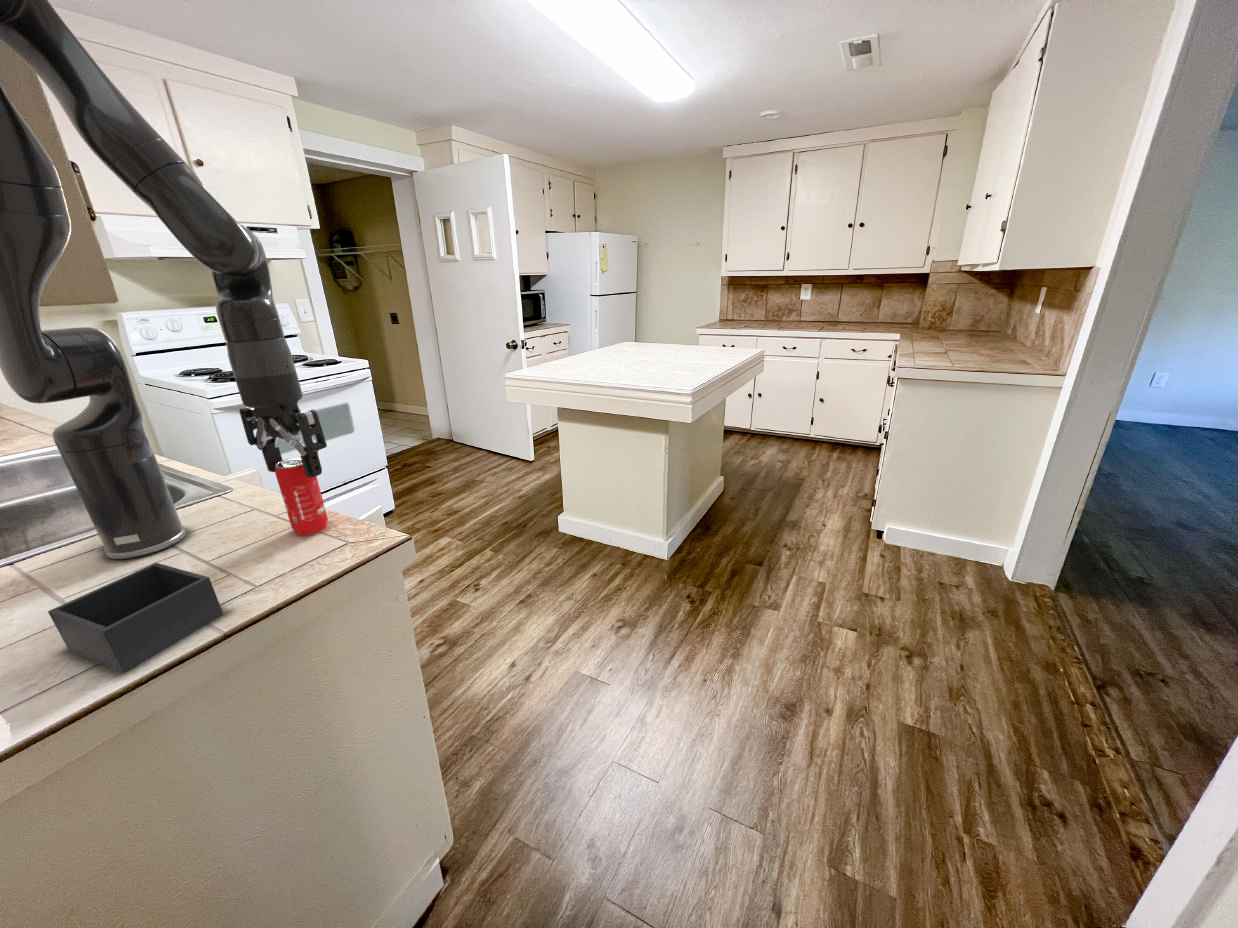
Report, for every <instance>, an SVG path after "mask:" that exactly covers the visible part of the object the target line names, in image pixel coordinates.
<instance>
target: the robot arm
mask: <svg viewBox="0 0 1238 928" xmlns="http://www.w3.org/2000/svg"><path fill="white" fill-rule="evenodd" d="M0 42H2V43H3V45H5V46H6V47H7V48H8V49H10V50H11V52H13V53H14V54H15V55H17V56H18V57H19V58H20V59H21V61H23V62H24V63H25V64H26V65H27V67H29V68H30V69H31V70H32V71H33V73H35V75H37V76H38V78H39V79H40V80H41V81H42V82H43V84H44V85H45V86H46V87H47V89H48V90H49V91H50V92H51V94H52V95H53V97H54V98H55V99H56V101H58V104H59V105H60V107H61V109H62V110H63V112H64V114H65V115H66V116H67V118H68V120H69V121H70V123H71V124H72V126H73V128H74V129H75V130H76V132H77V134H78V135H79V136H80V138H81V139H82V140H83V142H84V143H85V144H86V145H87V147H88V148H89V149H90V150H91V151H92V153H93V154H94V155H95V156H96V157H97V158H98V159H99V161H100V162H102V163H103V164H104V165H105V166H106V168H108V169H109V170H110V171H111V172H112V173H113V175H115V176H116V177H117V178H118V179H119V180H120V182H122V183H123V184H124V185H125V186H126V187H127V188H128V189H129V190H130V191H131V192H132V193H133V194H134V195H135V196H136V197H137V198H138V199H139V200H140V201H142V202H143V203H144V204H145V205H146V206H147V207H149V208H150V210H152V211H153V212H154V214H155V215H156V216H157V217H158V219H159V220H160V221H161V222H162V223H163V225H164V226H165V227H166V229H168V231H169V232H170V233H171V234H172V235H173V237H174V238H175V239H176V240H177V241H178V243H180V244H181V245H182V247H183V248H184V249H185V250H186V251H187V252H188V253H189V254H190V255H191V256H192V257H193V258H194V259H195V260H197V262H199V264H201V265H202V266H204V268H207V269H208V270H210V272H211V276H212V280H213V283H214V286H215V290H216V294H217V300H216V303H215V312H216V316H217V320H218V322H219V323H218V324H219V326H220V329H221V332H222V335H223V338H224V341H225V345H226V351H227V358H228V362H229V365H230V368H231V371H232V374H233V377H234V380H235V383H236V386H237V390H238V393H239V396H240V399H241V402H242V404H243V405H244V406H245V407H242V408H240V409H239V415H240V419H241V422H242V426H243V429H244V432H245V433H244V434H245V437H246V439H247V442H248V444H249V445H250V446H256V448H257V449H258V450H259V451H261V453H262V456H263V460H264V462H265V465H266V468H267V471H268V472H271V473H275V469H276V467H275V465H276V464H277V463H278V462H280V461H283V457H282V454H281V450H280V447H279V446H277V445H278V442H279V439H282V440H284V441H285V442H286V443H287V444H288V445H290V446H293V447H294V448H295V450H296V451H297V452H298V453H299V454H300V456H299V457H301V460H302V464H303V467H304V471H305V474H306V476H307V477H309V478H313V477H315V476H320V475H322V473H323V469H322V468H323V467H322V464H321V461H320V457H319V451H321V450H323V449H325V448H327V446H328V444H327V441H326V437H325V435H324V434H325V433H324V431H323V428H322V424H321V422H320V418H319V416H318V412H317V411H316V410H315V409H310V410H307V411H302V410H301V409H300V407H299V404H298V403H299V401H300V400H301V399H302V398H303V396H304V395H303V391H302V388H301V384H300V380H299V376H298V372H297V369H296V366H295V361H294V358H293V354H292V351H291V349H290V346H289V345H288V342H287V339H286V337H285V332H284V330H283V326H282V323H281V319H280V314H279V312H278V310H277V309H278V308H277V307H276V303H275V300H274V296H273V287H272V281H271V273H270V269H269V264H268V260H267V255H266V252H265V249H264V247H263V245H262V243H261V241H260V239H259V238H258V237H257V235H256V234H255V233H253V232H252V231H251V230H250V229H249V228H247V227H245V226H244V225H242V224H241V223H240V222H238V221H237V220H236V219H235V218H234V217H233V215H231V214H230V213H229V212H228V211H227V210H226V209H225V208H224V207H223V206H222V204H220V203H219V202H218V201H217V199H215V198H214V196H213V195H212V194H211V193H210V192H209V191H207V189H206V188H205V187H204V183H203V182H202V181H201V178H200V177H199V176H198V175H197V174H196V172H195V171H194V170H193V169H192V168H191V166H189V164H187V163H186V161H185V160H184V159H183V158H182V157H181V156H180V155H179V154H178V153H177V152H176V151H175V150H174V148H173V147H172V146H171V145H170V144H169V143H168V142H167V141H166V140H165V139H164V138H163V137H162V136H161V134H160V133H158V132H157V131H156V129H155V128H154V127H153V126H152V125H151V124H150V123H149V122H148V121H147V120H146V118H145V117H143V115H142V114H141V113H140V112H139V111H138V110H137V108H135V106H134V105H133V104H132V103H131V102H130V101H129V100H128V99H127V97H125V95H124V94H123V93H122V92H121V91H120V89H119V88H118V87H117V86H116V85H115V84H114V83H113V82H112V81H111V79H110V78H109V77H108V76H107V74H106V73H105V72H104V70H102V68H101V67H100V66H99V64H98V63H97V62H96V61H95V59H93V57H92V56H91V55H90V53H89V52H88V51H87V50H86V48H85V47H84V46H83V44H82V43H81V42H80V40H79V39H78V38H77V37H76V36H75V34H74V33H73V32H72V31H71V29H70V28H69V27H68V25H67V24H66V23H65V22H64V20H63V19H62V18H61V16H60V15H59V13H58V12H57V11H56V10H55V8H54V7H53V5H52V4H51V2H50V1H49V0H0ZM64 194H65V193H64V190H63V187H62V183H61V180H60V176H59V174H58V171H57V169H56V166H55V165H54V162H53V161H52V159H51V157H50V156H49V154H48V153H47V151H46V149H45V148H44V147H43V145H42V143H41V142H40V140H39V139H38V138H37V136H36V135H35V133H34V132H33V131H32V129H31V127H30V126H29V125H28V123H27V122H26V121H25V119H24V117H22V115H21V114H20V112H19V111H18V109H17V108H16V107H15V106H14V103H13V102H12V101H11V100H10V98H9V97H8V95H7V93H6V91H5V89H4V88H3V86H2V84H1V83H0V371H1V373H2V375H3V378H4V380H5V381H6V382H7V384H8V386H9V388H10V389H11V390H12V391H13V392H14V393H15V394H16V395H17V396H18V397H19V398H21V399H22V400H23V401H26V402H28V403H32V404H50V403H57V402H63V401H69V400H74V399H80V398H81V399H82V398H86V397H89V402H88V404H87V405H86V407H85V408H84V409H83V410H82V411H81V412H80V413H78V415H76V416H74V417H73V418H71V419H69V420H68V421H66V422H64V423H62V424H60V425H58V426H57V427H56V428H54V430H53V431H52V433H51V434H52V435H51V436H52V439H53V442H54V444H55V446H56V448H57V450H58V452H59V454H60V456H61V458H62V460H63V463H64V465H65V467H66V469H67V471H68V473H69V475H70V477H71V480H72V483H74V486H75V488H76V490H77V492H78V495H79V497H80V499H81V501H82V503H83V505H84V507H85V510H86V512H87V514H88V516H89V518H90V520H91V522H92V524H93V527H94V529H95V531H96V533H97V536H98V538H99V540H100V542H101V544H102V546H103V550H104V553H105V555H106V557H108V558H110V559H113V560H127V559H132V558H134V559H135V558H138V557H142V556H146V555H151V554H154V553H156V552H159V551H162V550H165V549H167V548H169V547H172V546H173V545H175V544H177V543H179V542H180V541H181V540H183V539H184V538H185V536H186V534H187V533H186V529H185V527H184V526H183V524H182V521H181V519H180V516H179V514H178V511H177V509H176V505H175V503H174V501H173V498H172V495H171V493H170V491H169V488H168V485H167V483H166V480H165V478H164V476H163V475H164V474H163V472H162V470H161V467H160V465H159V463H158V460H157V457H156V455H155V452H154V450H153V447H152V445H151V443H150V440H149V437H148V435H147V432H146V430H145V428H144V423H143V413H142V411H141V408H140V405H139V402H138V400H137V396H136V393H135V390H134V387H133V384H132V381H131V376H130V373H129V370H128V368H127V364H126V362H125V360H124V356H123V355H122V352H121V351H120V349H119V347H118V346H117V344H116V343H115V341H114V340H113V339H112V338H111V337H110V336H109V335H108V334H106V332H104V331H103V330H100V329H98V328H96V327H95V328H94V327H89V326H88V327H69V328H57V329H44V330H42V327H41V319H40V318H41V317H40V303H41V297H42V292H43V290H44V287H45V284H46V282H47V281H48V279H49V277H50V275H51V274H52V272H53V270H54V268H55V267H56V265H57V263H58V262H59V260H60V259H61V257H62V256H63V253H64V251H65V249H66V247H67V246H68V242H69V240H70V236H71V232H72V223H71V218H70V213H69V210H68V206H67V201H66V198H65V195H64ZM255 430H256V432H255V433H254V431H255ZM313 436H315V439H316V440H315V439H314V438H313ZM302 442H304V443H302Z"/></svg>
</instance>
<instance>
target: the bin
mask: <svg viewBox="0 0 1238 928" xmlns="http://www.w3.org/2000/svg"><path fill="white" fill-rule="evenodd" d="M47 613H48V615H49V617H50V619H51V620H52V622H53V625H54V626H55V628H56V629H57V631H58V633H59V635H60V637H61V638H62V639H61V640H63V642H64V644H65V646H66V648H67V650H68V651H69V652H71V653H74V654H76V655H79V656H81V657H83V658H86V659H88V660H91V661H94V662H96V663H97V664H101V665H103V666H106V667H108V668H111V669H113V670H115V671H119V672H120V673H122V674H123V673H126V672H127V671H129V670H130V669H132V668H134V667H136V666H137V665H139V664H141V663H142V662H144V661H147V660H148V659H150V658H151V657H153V656H155V655H156V654H159V652H161V651H163V650H165V649H167V648H168V647H170V646H172V645H174V644H175V643H177V642H178V641H180V640H181V639H183V638H185V637H186V636H189V635H190V634H192V633H194V632H196V631H197V630H199V629H200V628H202V627H204V626H205V625H207V624H209V623H211V622H213V621H214V620H216V619H217V618H219V617H221V616H223V615H224V612H223V610H222V607H221V604H220V601H219V599H218V596H217V593H216V591H215V589H214V587H213V584H212V582H211V578H210V577H209V576H206V575H202V574H199V573H195V572H193V571H192V572H191V571H188V570H185V569H180V568H177V567H173V566H170V565H167V564H162V563H158V562H155V563H152V564H150V565H147V566H145V567H143V568H141V569H139V570H137V571H134V572H131V573H130V574H128V575H125V576H123V577H121V578H119V579H117V580H114V581H112V582H110V583H108V584H106V585H103V586H100V587H98V588H96V589H94V590H91V591H89V592H87V593H86V594H84V595H81V596H78V597H76V598H74V599H72V600H70V601H68V602H65V603H63V604H61V605H59V606H57V607H55V608H52V609H50V610H48V611H47Z"/></svg>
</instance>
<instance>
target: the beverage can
mask: <svg viewBox="0 0 1238 928" xmlns="http://www.w3.org/2000/svg"><path fill="white" fill-rule="evenodd" d="M282 460H283V459H282ZM275 467H276V469H275V472H274V474H275V477H276V480H277V484H278V488H279V490H280V494H281V497H282V500H283V503H284V507H285V509H286V510H285V511H286V513H287V517H288V520H289V523H290V527H291V530H293V531H294V532H295V533H296V534H297V535H298V536H305V537H306V536H311V535H315V534H318V533H320V532H322V531H324V530H326V528H327V526H328V525H327V524H328V521H329V518H328V514H327V510H326V507H325V506H326V505H325V503H324V499H323V496H322V491H321V488H320V485H319V480H318V477H317V476H315V477H313V478H309V477H307V476H306V474H305V471H304V467H303V464H302V460H301V457H300V456H298V457H291V458H287V459H284V460H283V461H280V462H278V463H277V464H276V465H275Z"/></svg>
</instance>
